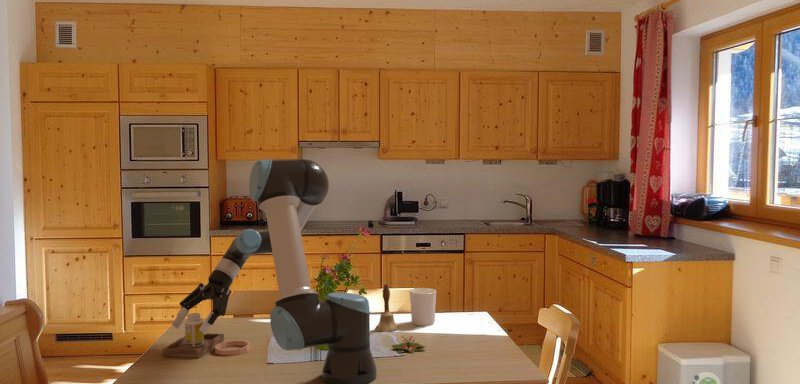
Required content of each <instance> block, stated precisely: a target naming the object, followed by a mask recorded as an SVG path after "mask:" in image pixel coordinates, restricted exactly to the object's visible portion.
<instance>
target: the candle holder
mask: <svg viewBox="0 0 800 384" xmlns="http://www.w3.org/2000/svg"><path fill="white" fill-rule="evenodd" d="M436 296H437V289H434V288H428V287H417V288H412V289H410V290H409V299H410V300H409V301H410V312H411V313H410V315H411V316H410V317H411V324H412V325H414V326H419V327H422V326H423V327H424V326H431V325H434V324H435V322H436V319H435V318H436V302H437V301H436V300H437V297H436Z"/></svg>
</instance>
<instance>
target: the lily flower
mask: <svg viewBox="0 0 800 384" xmlns="http://www.w3.org/2000/svg"><path fill="white" fill-rule="evenodd" d="M404 336H405V335H401V338H403V340H402V342H401V343H400V344H398V343H396V344H392V348H391V349H390V350H397V349H398V350H397V353H398V354H401V353H405V352H410V353H411V354H414V353H415V351H416V352H417V351H422V352H423V351H424V352H426V350H425V349H424V348H422V347H426V346H425V345H422V344H420V343H419V342H415V340H416V339H415V338H414V339H413V337H414V335H411V334H410V335H409V337H407V338H406V337H404ZM406 336H408V335H407V334H406ZM406 348H407V349H406ZM403 350H404V351H403Z"/></svg>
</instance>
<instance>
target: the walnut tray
mask: <svg viewBox="0 0 800 384" xmlns="http://www.w3.org/2000/svg"><path fill="white" fill-rule="evenodd" d="M221 342H225V333H208V332H207V333H206V335H204V344H203V345H202V346H200V347H194V348H190V347H187V346H186V335H184V336H183V337H181V338H179V339H178V340H176V341H174V342H172V343H170V344H169V345H166V346H165V347H164V348H162V357H163V358H183V359H187V358H188V359H200V358H202V357H203V356H205V355H206V354H207V353H209V352H211V351H212V350H214V349H215V345H217V344H218V343H221Z"/></svg>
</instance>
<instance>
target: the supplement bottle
mask: <svg viewBox="0 0 800 384" xmlns="http://www.w3.org/2000/svg"><path fill="white" fill-rule="evenodd" d="M186 318H187V319H186V320H185V321H184V331H185V335H184V336H186V346H187V347H190V348H194V347H200V346H202V345H203V344H204V334H203V333H202V332H201V331H199V329H200V327H201V326H202V324H203V323H204V320H203V319H202V318H201V313H199V312H192V313H188V315H187V316H186Z"/></svg>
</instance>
